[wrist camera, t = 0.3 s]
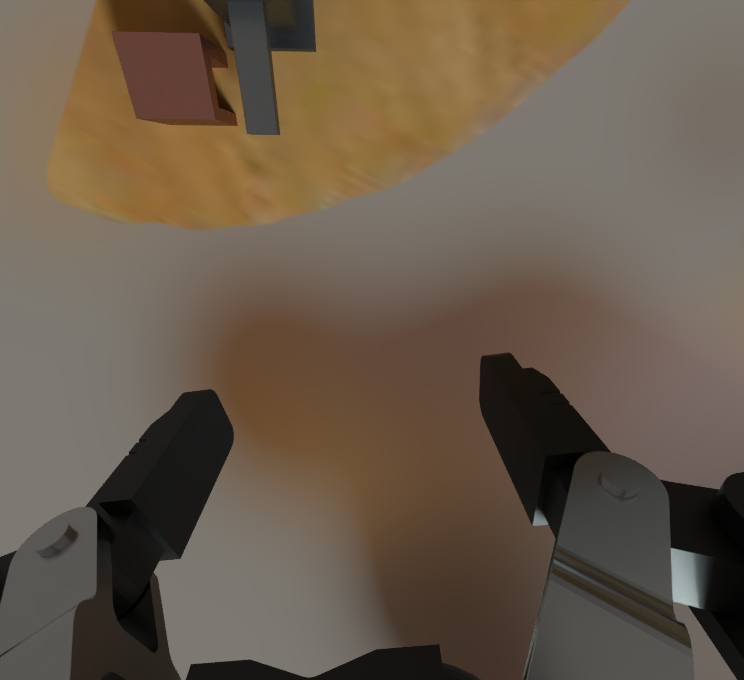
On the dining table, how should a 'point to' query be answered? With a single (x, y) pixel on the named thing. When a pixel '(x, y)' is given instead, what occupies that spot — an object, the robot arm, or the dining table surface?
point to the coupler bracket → (264, 50)
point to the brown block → (172, 77)
